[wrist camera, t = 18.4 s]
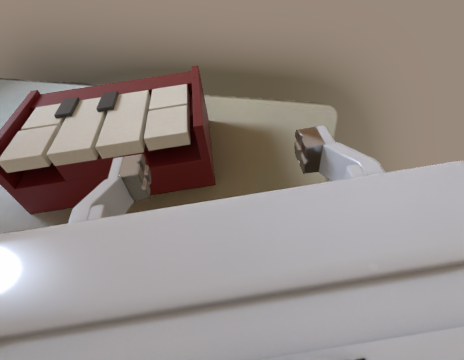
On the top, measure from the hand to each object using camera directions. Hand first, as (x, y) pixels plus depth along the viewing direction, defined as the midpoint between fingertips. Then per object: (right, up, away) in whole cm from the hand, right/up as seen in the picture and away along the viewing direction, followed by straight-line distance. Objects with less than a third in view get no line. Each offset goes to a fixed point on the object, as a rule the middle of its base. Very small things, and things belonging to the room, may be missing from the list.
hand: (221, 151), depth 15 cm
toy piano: (-11, +1, +18) cm, 21 cm away
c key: (-18, +1, +11) cm, 21 cm away
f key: (-5, +3, +11) cm, 13 cm away
